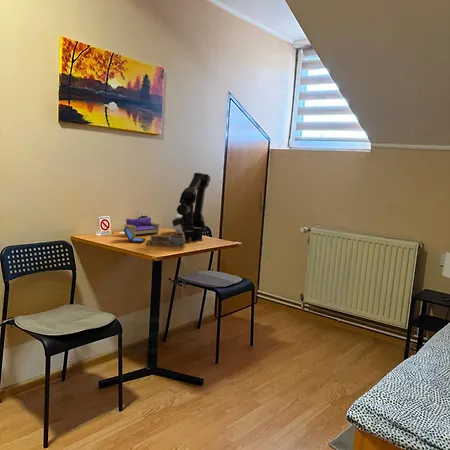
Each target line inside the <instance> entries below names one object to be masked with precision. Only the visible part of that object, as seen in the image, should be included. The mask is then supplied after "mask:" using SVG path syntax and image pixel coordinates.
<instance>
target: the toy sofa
mask: <svg viewBox="0 0 450 450" xmlns="http://www.w3.org/2000/svg"><path fill="white" fill-rule="evenodd" d="M151 221H152V218H151V217H150V216H146V217H142V218H126V219H125V224H124V225H123V226H124V229H125V228H126V227H128V228H129V230H130V232H131V233H132V235H133V237H134V238H136V236H137V235H142V234H143V235H144V234H154V235H159V229H160V228H159V227H160V223H157V222H151ZM124 236H126V234H125V233H124Z"/></svg>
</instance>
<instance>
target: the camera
mask: <svg viewBox="0 0 450 450" xmlns="http://www.w3.org/2000/svg"><path fill="white" fill-rule="evenodd" d="M181 217H182V215H180V214H178V212H177V211H176V213H175V214H174V216H173V218H172V220H174V219H178V218H181ZM171 223H172V222H171ZM172 228H174V231H175V232H176V233H177V235H182V234H183V235H184V232H183V231H182V228H181V224H180V225H177V226H175V227H174V226H173V223H172Z"/></svg>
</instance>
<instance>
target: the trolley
mask: <svg viewBox="0 0 450 450" xmlns="http://www.w3.org/2000/svg"><path fill="white" fill-rule="evenodd" d="M169 236H170V237H169V240H168V241H167V242H173V246H174V247H185V237H184V234H169ZM173 246H172V247H173Z"/></svg>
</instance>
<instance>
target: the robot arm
mask: <svg viewBox="0 0 450 450" xmlns="http://www.w3.org/2000/svg"><path fill="white" fill-rule="evenodd" d="M210 182H211V175H209V174H207V173H202V172H194V173H193V176H192V179H191V182H190V183H189V185H188V187H185V188H184V190H183V191H182V192H181V195H180V198H179V202H178V203H179V204H178V206H177V208H176V213H177V212H178V214H180V215H182V217H181V218H178V219H174V220H173V219H172V220H171V223H173V224H172V227H173V226H174V227H175V226H177V225H180V224H181V228H182V231H183V232H184V234H183V235H184V241H185V243H186V244H188V243H189V242H190V240H191V241H203V232H204V231H205V230H206V223H205V217H204V215H203V207H204V200H205V193H206V189H207V188H208V186H209V185H210ZM174 227H173V228H174Z"/></svg>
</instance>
